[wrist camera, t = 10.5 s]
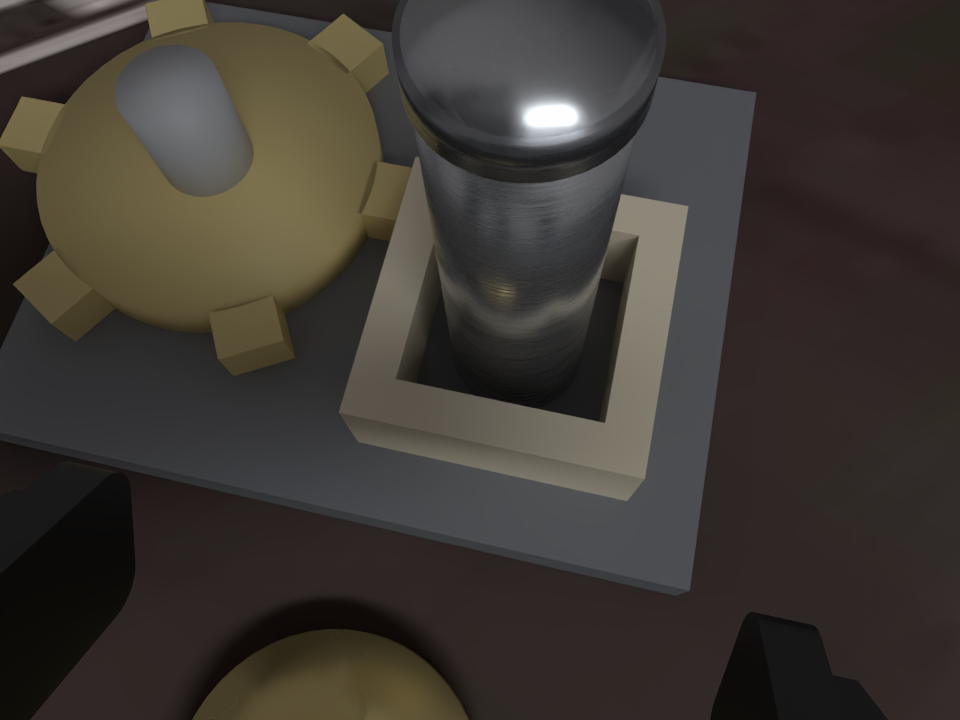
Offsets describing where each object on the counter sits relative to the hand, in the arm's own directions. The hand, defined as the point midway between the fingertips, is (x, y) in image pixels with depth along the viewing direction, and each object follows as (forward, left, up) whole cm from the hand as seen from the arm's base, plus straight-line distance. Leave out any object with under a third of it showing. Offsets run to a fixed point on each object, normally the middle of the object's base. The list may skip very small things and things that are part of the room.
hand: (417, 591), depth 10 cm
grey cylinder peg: (0, +7, -8) cm, 11 cm away
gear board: (-4, +9, -10) cm, 14 cm away
